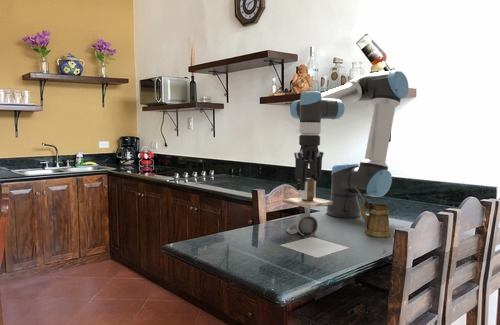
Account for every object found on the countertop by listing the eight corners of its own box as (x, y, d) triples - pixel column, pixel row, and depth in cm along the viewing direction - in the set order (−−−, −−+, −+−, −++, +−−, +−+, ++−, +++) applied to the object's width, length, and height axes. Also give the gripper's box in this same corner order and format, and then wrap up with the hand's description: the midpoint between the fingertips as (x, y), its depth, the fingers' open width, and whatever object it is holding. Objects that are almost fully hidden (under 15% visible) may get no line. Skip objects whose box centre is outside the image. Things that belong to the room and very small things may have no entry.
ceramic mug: (312, 230, 153) (312, 210, 153) (318, 236, 145) (318, 215, 144) (285, 231, 152) (285, 211, 151) (289, 237, 144) (289, 216, 143)
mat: (312, 238, 143) (312, 236, 143) (349, 249, 131) (349, 247, 131) (279, 246, 132) (279, 245, 132) (317, 259, 120) (317, 257, 120)
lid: (306, 198, 156) (306, 175, 156) (332, 203, 147) (333, 179, 146) (282, 202, 148) (283, 178, 147) (309, 208, 138) (309, 182, 137)
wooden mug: (351, 230, 155) (353, 184, 153) (388, 231, 153) (390, 185, 151) (354, 236, 146) (356, 187, 144) (393, 238, 144) (395, 188, 142)
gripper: (317, 134, 153) (315, 194, 155) (285, 134, 142) (284, 199, 145) (332, 134, 148) (330, 197, 150) (301, 134, 137) (299, 202, 139)
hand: (307, 198), depth 147 cm, fingers closed on lid, 4 cm apart
